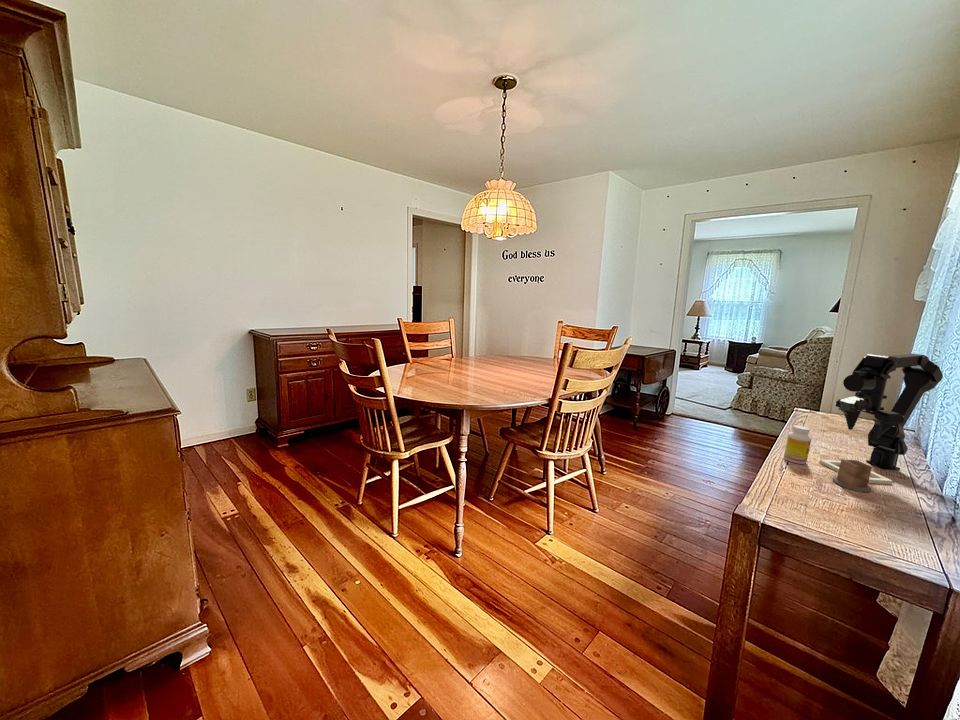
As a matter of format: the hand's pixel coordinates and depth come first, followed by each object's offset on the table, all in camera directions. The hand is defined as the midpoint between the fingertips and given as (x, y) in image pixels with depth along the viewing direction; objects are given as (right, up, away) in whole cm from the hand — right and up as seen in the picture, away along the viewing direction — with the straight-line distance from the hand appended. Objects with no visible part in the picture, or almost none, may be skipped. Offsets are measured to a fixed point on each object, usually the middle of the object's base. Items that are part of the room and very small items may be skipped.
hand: (862, 434), depth 135 cm
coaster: (-15, -14, -11) cm, 24 cm away
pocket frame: (-5, -13, -2) cm, 14 cm away
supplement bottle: (-19, -11, +6) cm, 23 cm away
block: (-15, -14, -11) cm, 23 cm away
